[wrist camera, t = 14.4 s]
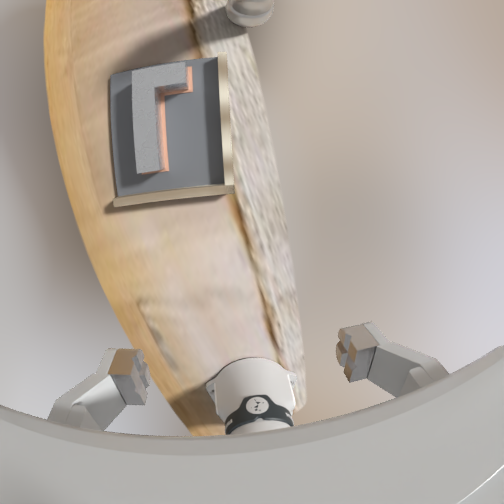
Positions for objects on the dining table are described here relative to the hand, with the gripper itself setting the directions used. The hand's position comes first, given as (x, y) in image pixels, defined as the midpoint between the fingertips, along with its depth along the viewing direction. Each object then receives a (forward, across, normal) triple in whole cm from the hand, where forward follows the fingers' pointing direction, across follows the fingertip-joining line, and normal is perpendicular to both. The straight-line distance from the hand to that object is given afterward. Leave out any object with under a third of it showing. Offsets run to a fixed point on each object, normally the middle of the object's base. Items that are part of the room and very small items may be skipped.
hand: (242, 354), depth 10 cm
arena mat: (+31, +7, -12) cm, 34 cm away
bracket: (+30, +7, -13) cm, 34 cm away
